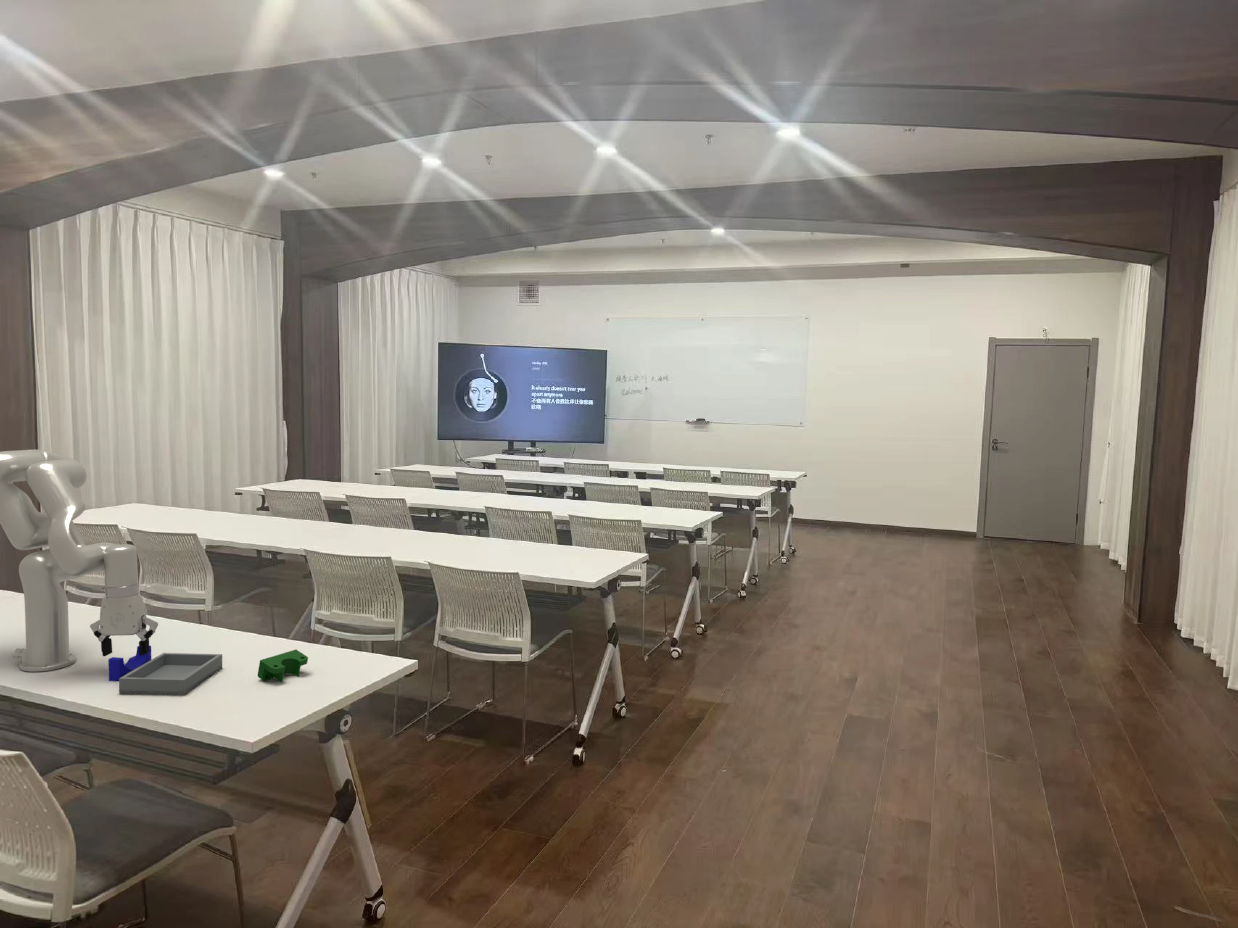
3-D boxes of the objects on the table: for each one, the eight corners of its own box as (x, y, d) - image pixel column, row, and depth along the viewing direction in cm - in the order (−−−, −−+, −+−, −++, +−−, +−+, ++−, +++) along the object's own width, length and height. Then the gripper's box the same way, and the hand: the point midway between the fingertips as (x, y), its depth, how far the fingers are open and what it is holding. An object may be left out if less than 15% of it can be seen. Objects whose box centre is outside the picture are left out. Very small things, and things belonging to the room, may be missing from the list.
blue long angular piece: (136, 665, 218) (135, 644, 217) (151, 666, 217) (151, 645, 217) (103, 681, 206) (103, 658, 205) (119, 682, 205) (119, 659, 205)
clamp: (275, 698, 209) (268, 674, 204) (261, 688, 212) (254, 664, 207) (313, 670, 217) (307, 646, 213) (299, 661, 220) (293, 637, 215)
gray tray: (119, 694, 197) (118, 678, 197) (163, 667, 217) (163, 652, 216) (184, 695, 197) (184, 679, 197) (222, 668, 217) (222, 654, 217)
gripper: (80, 595, 206) (83, 659, 207) (147, 594, 206) (150, 658, 207) (98, 588, 213) (101, 650, 215) (163, 587, 214) (166, 649, 215)
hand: (125, 654), depth 211 cm, fingers open, 9 cm apart
